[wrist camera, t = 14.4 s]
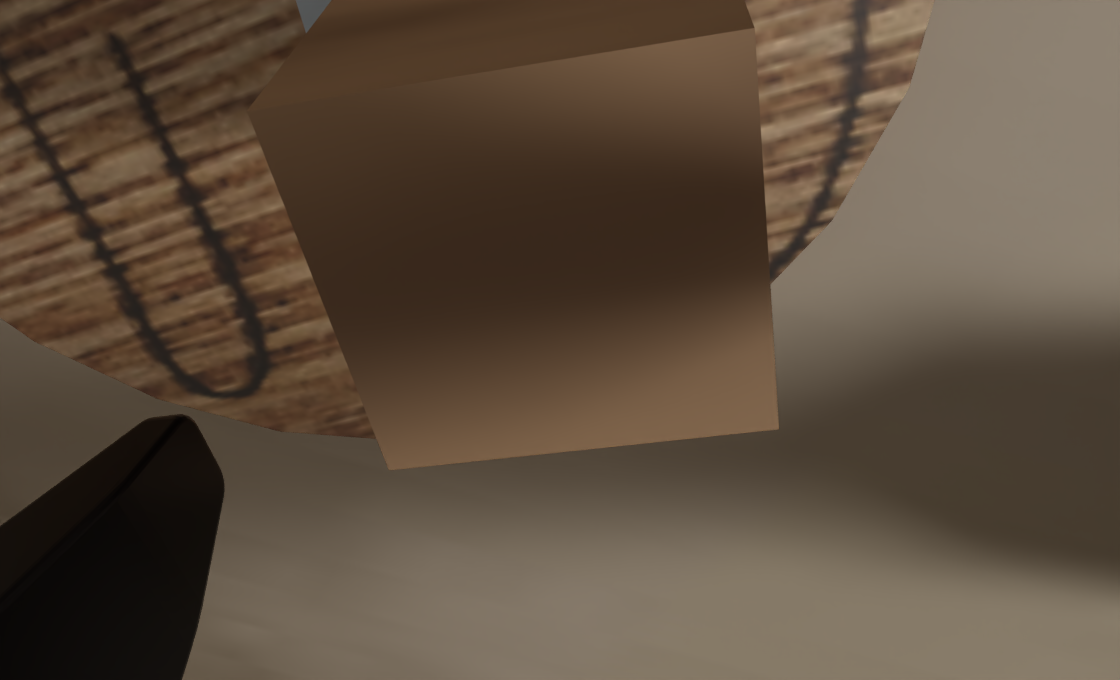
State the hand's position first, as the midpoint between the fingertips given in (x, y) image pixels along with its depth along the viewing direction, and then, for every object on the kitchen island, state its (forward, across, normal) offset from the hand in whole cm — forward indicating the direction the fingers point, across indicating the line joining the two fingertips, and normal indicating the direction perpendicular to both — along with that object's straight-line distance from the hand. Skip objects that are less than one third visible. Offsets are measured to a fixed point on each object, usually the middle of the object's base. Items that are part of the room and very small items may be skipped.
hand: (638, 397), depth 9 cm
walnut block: (+7, +1, 0) cm, 7 cm away
